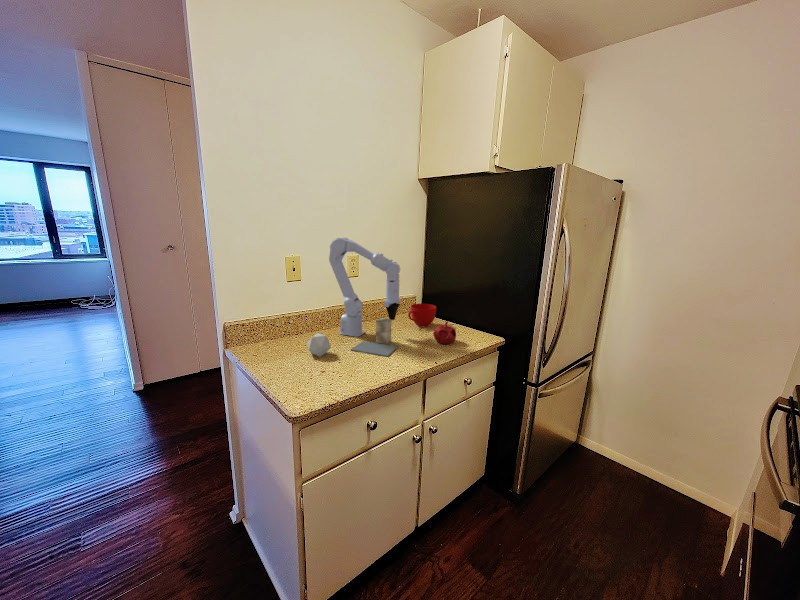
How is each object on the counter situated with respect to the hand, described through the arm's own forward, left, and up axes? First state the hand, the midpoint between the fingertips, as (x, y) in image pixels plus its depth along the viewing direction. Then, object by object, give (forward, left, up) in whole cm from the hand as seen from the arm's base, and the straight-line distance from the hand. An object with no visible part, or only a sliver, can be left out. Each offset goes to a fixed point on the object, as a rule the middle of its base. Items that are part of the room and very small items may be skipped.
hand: (392, 319), depth 147 cm
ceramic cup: (+7, +22, -8) cm, 24 cm away
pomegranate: (+24, +3, -8) cm, 25 cm away
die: (-17, -32, -8) cm, 37 cm away
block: (0, -9, -8) cm, 12 cm away
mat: (0, -18, -8) cm, 20 cm away
